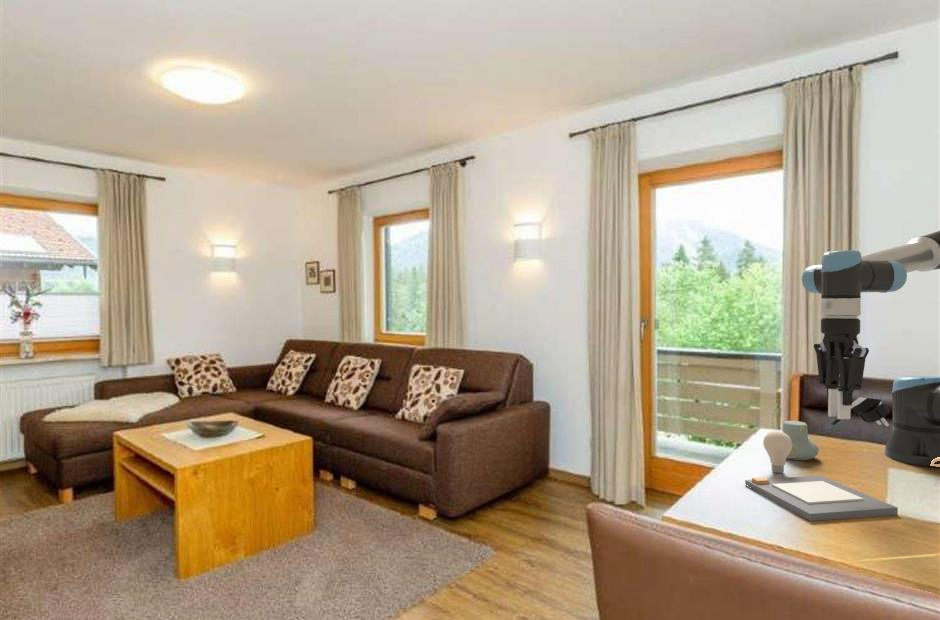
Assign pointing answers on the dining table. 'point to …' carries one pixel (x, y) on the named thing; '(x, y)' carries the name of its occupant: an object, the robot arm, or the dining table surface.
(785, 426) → the air freshener
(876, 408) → the power plug
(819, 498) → the socket board
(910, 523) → the dining table surface
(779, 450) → the light bulb
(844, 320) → the robot arm
